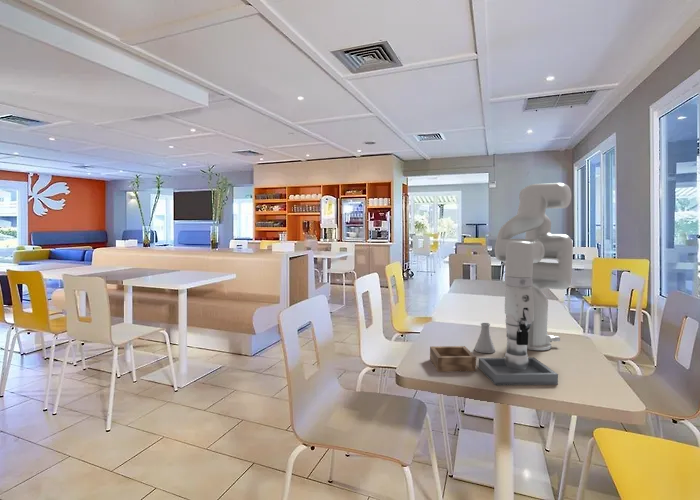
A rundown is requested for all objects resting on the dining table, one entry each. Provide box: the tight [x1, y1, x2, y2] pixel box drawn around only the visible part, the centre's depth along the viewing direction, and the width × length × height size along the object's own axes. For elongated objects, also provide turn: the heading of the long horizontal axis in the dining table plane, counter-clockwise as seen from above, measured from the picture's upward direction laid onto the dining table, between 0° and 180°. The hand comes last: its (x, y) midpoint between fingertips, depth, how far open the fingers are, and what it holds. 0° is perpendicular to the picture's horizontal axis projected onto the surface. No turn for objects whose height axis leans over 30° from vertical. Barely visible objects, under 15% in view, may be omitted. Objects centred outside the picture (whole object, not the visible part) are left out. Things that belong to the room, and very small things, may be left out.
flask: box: [474, 322, 496, 354], centre depth 142 cm, size 7×7×10 cm
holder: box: [429, 345, 477, 373], centre depth 128 cm, size 12×11×4 cm
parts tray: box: [477, 356, 559, 386], centre depth 119 cm, size 18×14×3 cm
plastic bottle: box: [504, 313, 529, 370], centre depth 118 cm, size 6×7×20 cm
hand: (516, 340), depth 119 cm, fingers closed on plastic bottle, 6 cm apart
